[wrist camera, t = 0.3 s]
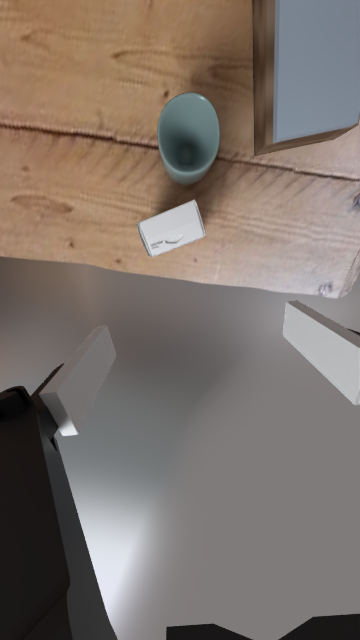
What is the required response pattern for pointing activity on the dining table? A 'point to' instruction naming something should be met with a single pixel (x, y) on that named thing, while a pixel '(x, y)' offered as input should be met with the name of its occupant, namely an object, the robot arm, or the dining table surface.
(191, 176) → the cup
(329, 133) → the box
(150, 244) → the ink box
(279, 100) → the lid
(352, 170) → the dining table surface
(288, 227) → the dining table surface
